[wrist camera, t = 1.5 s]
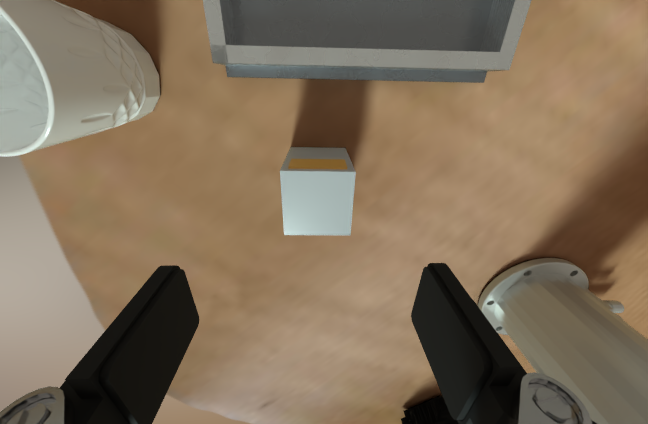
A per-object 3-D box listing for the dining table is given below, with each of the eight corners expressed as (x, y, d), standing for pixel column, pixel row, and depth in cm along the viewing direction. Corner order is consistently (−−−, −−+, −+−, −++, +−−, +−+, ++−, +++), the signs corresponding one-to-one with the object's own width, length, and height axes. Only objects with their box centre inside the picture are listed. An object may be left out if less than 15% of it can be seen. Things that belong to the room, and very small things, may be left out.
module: (345, 146, 23) (355, 169, 16) (342, 197, 25) (350, 235, 19) (290, 145, 22) (279, 168, 16) (292, 197, 25) (284, 234, 19)
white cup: (41, 63, 19) (-201, 45, 10) (96, -18, 17) (-146, -128, 8) (132, 145, 22) (7, 186, 13) (189, 84, 20) (86, 85, 11)
